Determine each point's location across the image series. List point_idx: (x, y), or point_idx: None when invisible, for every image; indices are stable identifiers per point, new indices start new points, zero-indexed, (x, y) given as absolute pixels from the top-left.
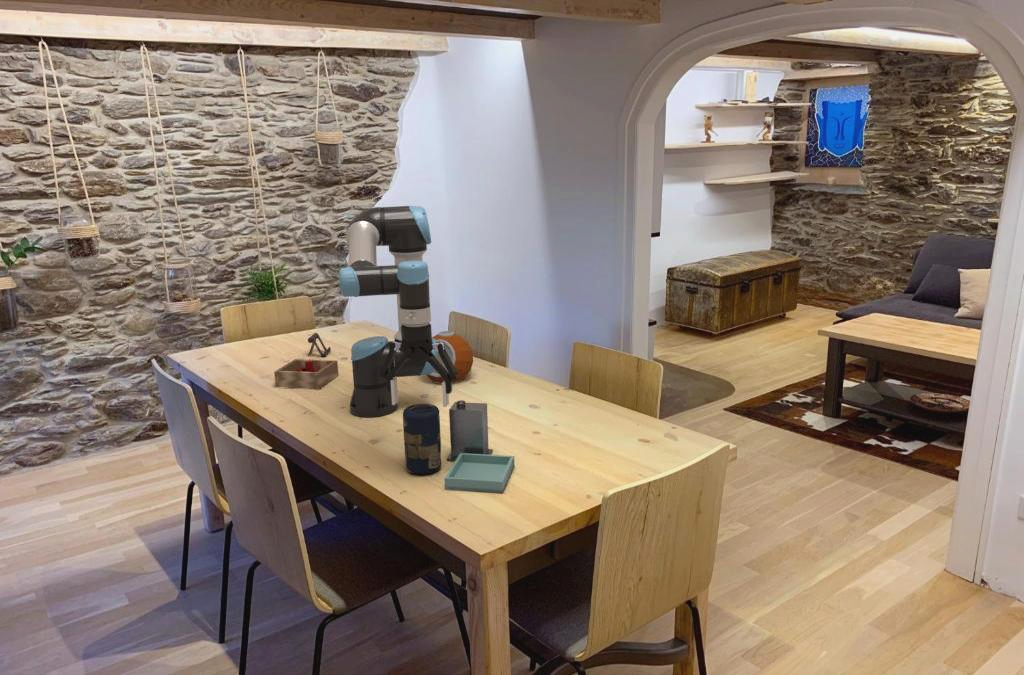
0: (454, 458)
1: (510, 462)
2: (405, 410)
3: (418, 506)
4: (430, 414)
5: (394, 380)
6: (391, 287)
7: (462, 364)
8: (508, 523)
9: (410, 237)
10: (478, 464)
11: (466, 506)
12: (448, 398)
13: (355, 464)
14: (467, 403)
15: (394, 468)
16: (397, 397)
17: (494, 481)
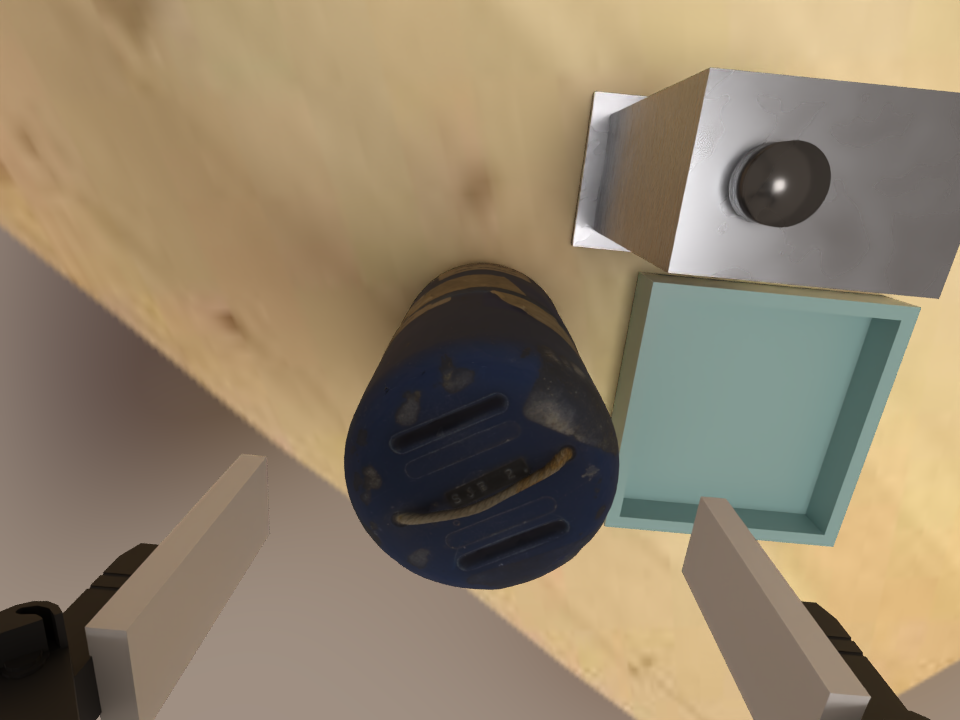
0: (609, 241)
1: (891, 378)
2: (369, 522)
3: (524, 604)
4: (570, 558)
5: (143, 697)
6: None
7: None
8: None
9: None
10: (726, 311)
11: (680, 599)
12: (746, 534)
13: (169, 301)
14: (829, 108)
15: (355, 334)
16: (249, 494)
17: (802, 543)
